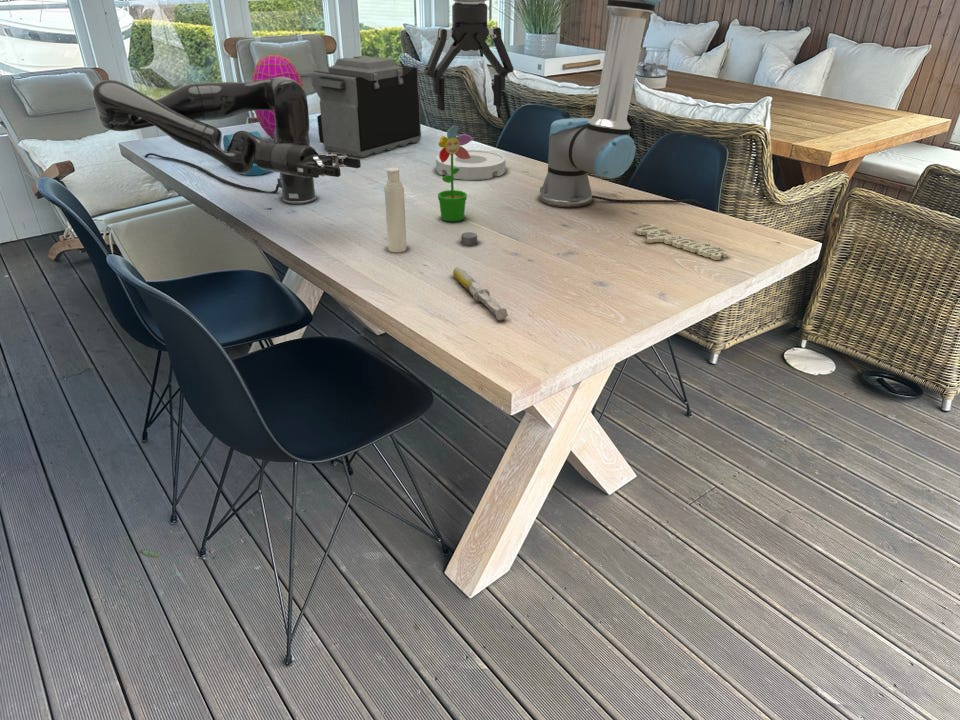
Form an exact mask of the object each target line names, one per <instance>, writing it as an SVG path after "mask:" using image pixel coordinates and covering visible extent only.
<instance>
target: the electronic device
mask: <svg viewBox="0 0 960 720" xmlns="http://www.w3.org/2000/svg"><path fill="white" fill-rule="evenodd" d="M310 79H311V87H313V90H314V91H315V93H316V94H317V96H318V98H319V110H320V111H319V112H320V114H319V115H317V116H316V119H317V128H318V138H319V143H320V144H323V146H324V149H325V150H327V151H329V152H337V153H348V154H350V156H353V157H356V158H362V159H363V158H366V157H367V158H368V157H369V155H371V154H375V155H377V154H381V153H382V152H383V151H391V150H395V149H396V148H397V147H405V146H407V145H408V144H416V143H418V142H419V141H421V137H422V128H421V97H420V92H419V91H420V89H419V68H418V67H417V66H408V65H400V64H396V62H395V60H394V59H393V58H385V57H377V56H367V55H356V56H353V57H350V58H349V57H343V58H342V57H341V58H337V59H336V60H335V63H334V64H333V65H330V66H329V67H328V72H327V71H320V70H314V71H313V70H312V71H310Z"/></svg>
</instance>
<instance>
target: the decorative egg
mask: <svg viewBox="0 0 960 720" xmlns="http://www.w3.org/2000/svg"><path fill="white" fill-rule="evenodd" d="M253 70H254V71H253V73H252V77H251V82H254V81H260V80H266V79H271V78H276V77H287V78H290V79H292V80H294V81H296V82H297V83H299V84H300V85H301V86H302V87H303V89H304V90H305V88H304V84H303V81H302V77H301V75H300V73H299V71H298V69H297V67H296V66H295V65H294V63H293V62H292V61H291V60H290V59H288V58H287V57H285V56H282V55H280V54H268V55H265V56H262V57H261V58H260V59H259V60H258V61H257V62H256V65H255V68H254V69H253ZM254 114H255V116H256V118H257V121H258V123H259V125H260V127H261V128H262V130H263V131H264V133H266V135H267V136H268V137H270V138H271V139H273V140H275V135H274V130H275V126H276V124H275V115H274V110H254Z"/></svg>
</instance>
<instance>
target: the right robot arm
mask: <svg viewBox="0 0 960 720" xmlns="http://www.w3.org/2000/svg"><path fill="white" fill-rule="evenodd" d="M452 1H453V3H452V5H451V13H452V14H451V16H452V17H451V20H452V23H451V24H452V26H451V29H448V28H447V29H446V28H443V27H439V28H438V30H437V39H436V41H435V44H434V46H433V49H432V51H431V54H430V56H429V59H428V61H427V64H426V66H425V68H424V75H427V76H428V77H430V78H432V89H433V91H432V92H433V93H434V94H435V95H437V96H436V97H437V109H438V110H439V111H442V112H443V111H445V110H446V102H445V99H446V98H445V78H442V76H443V75H444V73H445V72H446V70H447V69H448V68H449V66H450V65H451V63H453V61H454V59H455V58H456V57H457V55H459V53H460V52H461V51H462V52H469V51H475V52H477V51H480V52H482V54H483V56H484V57H485V59H486V60H487V61H488V62H489V64H490V65H491V67H492V68H493V69H494V71H495V72H496V73H497V74H494V75H493V105H492V106H495V107H496V108H502V92H503V91H505V90H506V77H507V76H508V74H510V73H513V72H514V69H515V68H514V66H513V64H512V61H511V58H510V55H509V53H508V50H507V48H506V47H505V42H504V41H503V38H502V29H501V27H498V26H492V27H490V28H488V8H489V7H488V5H487V3H486V2H487V1H488V0H452ZM661 1H662V0H607V4H606V8H607V10H608V11H609V13H610V24H609V30H608V35H607V40H606V46H605V53H604V58H603V63H602V69H601V74H600V81H599V86H598V92H597V97H596V103H595V109H594V114H593V116H592V117H591V118H589V117H573V118H571V117H570V118H562V119H556V120H554V121H553V122H552V123H551V125H550V129H549V130H550V131H549V134H548V156H547V158H548V159H547V173H546V176H545V178H544V181H543V184H542V186H541V187H540V189H539V200H540V202H542V203H543V204H546V205H549V206H553V207H558V208H559V207H560V208H580V207H584V206H588V205H589V204H591V203H592V199H596V200H602V201H606V202H613V203H670V204H671V203H672V204H680V203H681V204H682V203H694V204H697V205H698V206H699V207H702V208H704V205H703V203H701V202H700V201H699V200H697V199H690V198H689V199H678V200H677V199H616V198H609V197H603V196H598V195H593V193H592V188H591V184H590V179H589V173H590V174H593V175H595V176H597V177H598V178H606V179H617V178H620V177H621V176H622V175H624V173H625V172H626V171H628V170H629V168H630V167H631V166H632V164H633V162H634V159H635V156H636V153H637V152H636V151H637V147H636V144H635V141H634V139H633V138H632V137H631V135H630V134H631V131H632V126H631V125H630V123H629V121H628V114H629V111H630V105H631V98H632V96H633V95H632V94H633V89H634V84H635V80H636V79H635V78H636V74H637V69H638V64H639V60H640V59H639V58H640V52H641V47H642V42H643V37H644V32H645V28H646V24H647V23H646V22H647V20H648V18H650V16H652V15H653V14H654V13H655V8H656V4H658V3H660V2H661ZM450 37H451V38H452V40H453V42H452V43H451V45H450V46H449V49H448V50H447V52H446V53H445V55H444V56H443V58H442V59H441V61H440V58H441V56H442V53H443V51H444V48H445V46H446V43H447V41H448V40H449V38H450ZM488 37H490V39H492V42H493V44H494V47H495V50H496V52H497V54H498V56H499V60H500V61H501V62H500V61H499V60H498V58H497V57H496V56H495V54H494V53H493V51H492V50H491V48H490V46H489V45H488V43H487V42H486V40H487V39H488ZM439 61H440V62H439Z"/></svg>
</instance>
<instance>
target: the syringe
mask: <svg viewBox="0 0 960 720" xmlns="http://www.w3.org/2000/svg"><path fill="white" fill-rule="evenodd" d="M452 274H453V277H454V279H455V280H457V281H458V282H459V283H460V285H462V287H464V289H466V290H467V291H468V293H470V295H471V296H472V298H473V300H474V302H477V303H478V302H480V303H482V304H483V305H484V306H485V307H486V308H487V309H488V310H489V311H490V312H491V313H492V314H493V315H494V316H495V317H496V320H497V321H503V320H504V319H506V318H507V317H509V314H508V310H507V308H506V307H502V306H501V305H500V303H498V302H497V301H496V300H494V299H493V298H492V297H491V296H490V295H491V293H490V290H488V289H486V288H483V287H482V286H481V285H480V284H479V283H478V282H477V281H476V280H474V278H473V277H471V275H469V274H468V273H467V272H466V270H465V269H464V268H463V267H462V266H456V267H454V268H453V271H452Z"/></svg>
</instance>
